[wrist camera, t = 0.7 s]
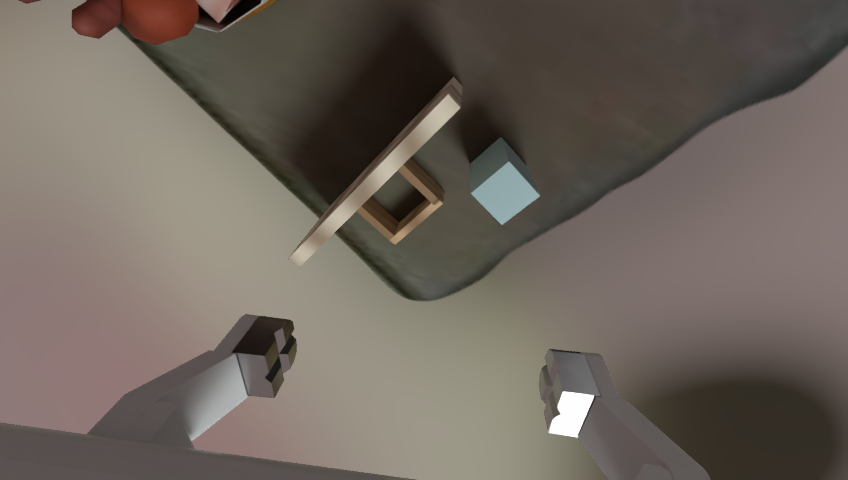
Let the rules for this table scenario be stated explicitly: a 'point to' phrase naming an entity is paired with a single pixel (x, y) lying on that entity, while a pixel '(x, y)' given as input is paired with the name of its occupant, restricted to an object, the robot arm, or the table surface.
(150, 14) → the bucket of meat
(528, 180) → the cabinet block
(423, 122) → the cleat board
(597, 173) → the table surface
